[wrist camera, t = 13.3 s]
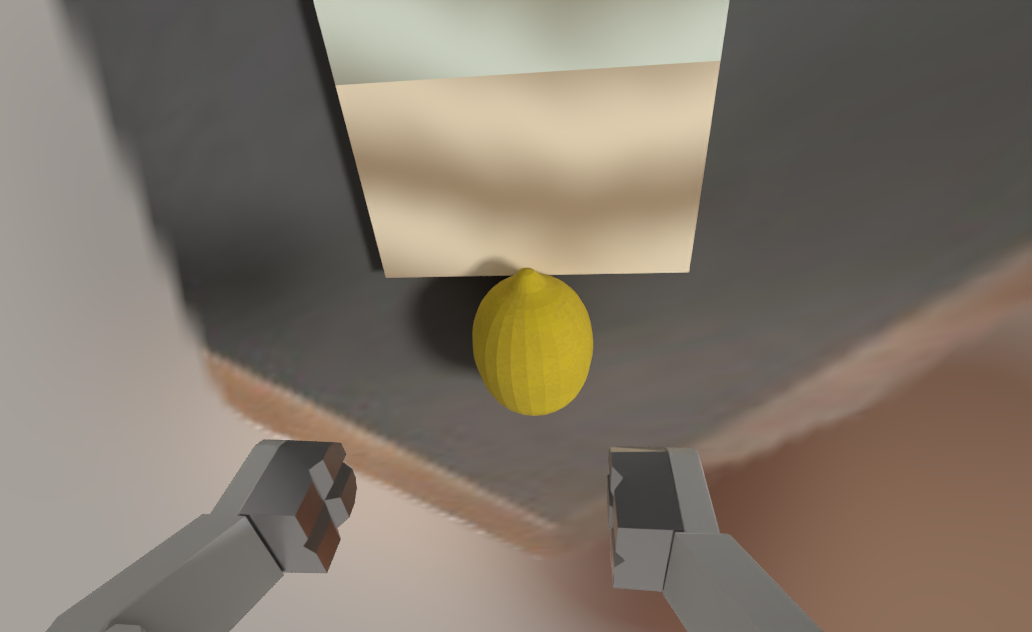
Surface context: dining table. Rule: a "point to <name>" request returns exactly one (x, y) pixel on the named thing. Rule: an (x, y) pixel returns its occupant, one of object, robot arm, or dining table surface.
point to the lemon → (532, 343)
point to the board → (528, 130)
